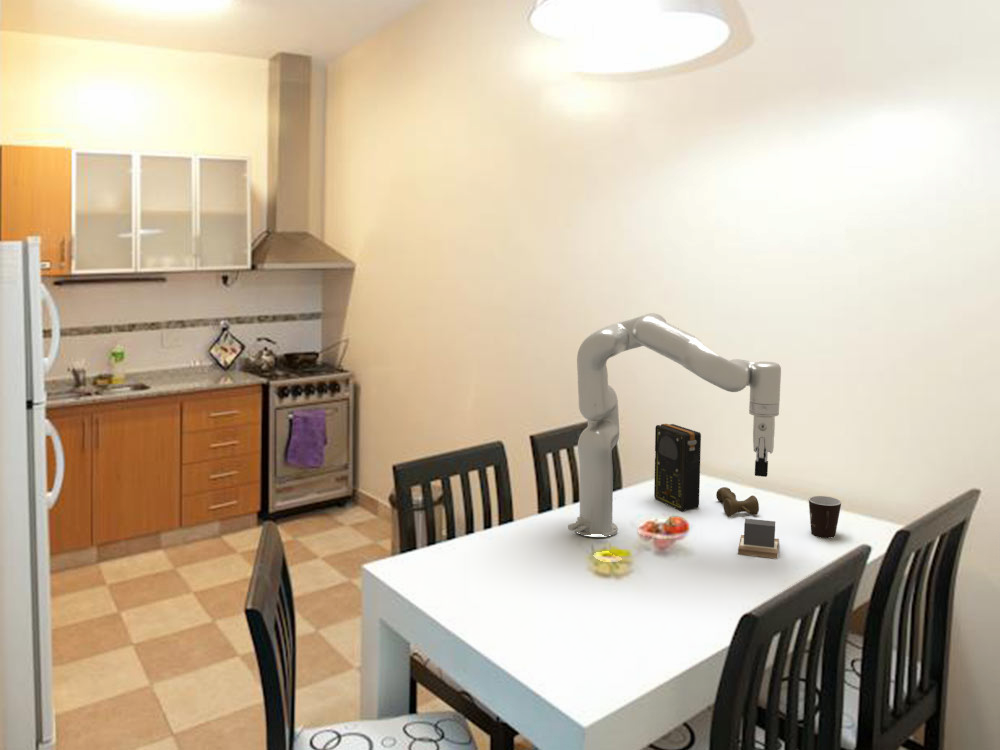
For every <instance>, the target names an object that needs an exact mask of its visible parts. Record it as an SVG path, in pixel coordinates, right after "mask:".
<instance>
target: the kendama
mask: <svg viewBox="0 0 1000 750" xmlns="http://www.w3.org/2000/svg"><path fill="white" fill-rule="evenodd" d="M715 494H716V496H715V497H716V499H717V501H719V502H721V503H723V512H724V514H725V515H726V516H727V517H730V518H731V517H732V516H734V515H735V514H737V513H742V512H744V513H748V514H750V515H754V516H756V515H758V514H759V510H760V504H759V500H758V498H757V497H756V496H755V495H750V496H749V497H747V498H746V499H744V500H737V496H736V493H735V492H733V491H731V489H730V488H729V487H727V486H724V487H720V488H719V489H717V491H716V493H715Z"/></svg>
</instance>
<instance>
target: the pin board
mask: <svg viewBox="0 0 1000 750" xmlns="http://www.w3.org/2000/svg"><path fill="white" fill-rule="evenodd" d="M779 544H780V539H779V538H775V542H774V548H772V547H763V546H754V545H745V544H744V534H741V535H740V538H739V542H738V549H737V555H741V554H742V555H743V556H751V557H752V556H753V557H758V558H767V559H778V554H779Z"/></svg>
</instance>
